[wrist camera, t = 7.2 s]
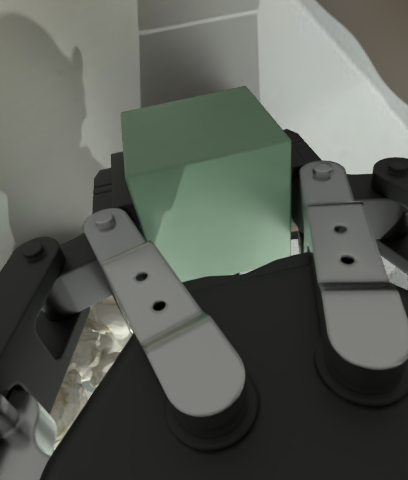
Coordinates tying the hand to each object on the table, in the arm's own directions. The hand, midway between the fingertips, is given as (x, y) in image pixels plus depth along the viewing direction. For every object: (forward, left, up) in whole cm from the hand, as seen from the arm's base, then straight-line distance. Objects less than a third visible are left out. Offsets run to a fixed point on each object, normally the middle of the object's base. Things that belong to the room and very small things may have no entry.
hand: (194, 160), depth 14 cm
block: (0, 0, 0) cm, 0 cm away
